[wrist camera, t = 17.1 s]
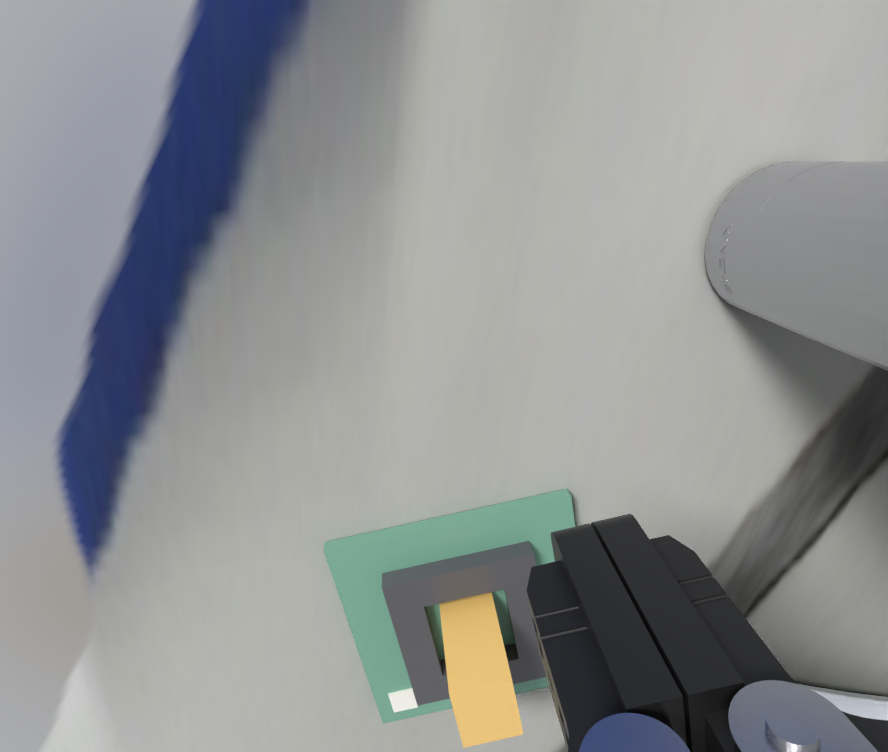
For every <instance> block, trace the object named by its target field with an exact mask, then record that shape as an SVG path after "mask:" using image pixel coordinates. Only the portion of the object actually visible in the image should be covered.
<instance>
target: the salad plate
mask: <svg viewBox="0 0 888 752" xmlns="http://www.w3.org/2000/svg"><path fill="white" fill-rule="evenodd" d="M798 685H800V686H803V687H806V688H808V689H810V690H812V691H814V692H816V693H818V694H820V695H821V696H823V697H825V698H826V699H827V700H829V701H830V702H831V703H833V704H834V705H835V706H836V707H837V708H838V709H839V710H840V711H843V712H846V713H848V714H852V715H856V716H860V717H864V718H871V719H878V720H888V697H884V696H875V695H866V694H859V693H851V692H845V691H838V690H832V689H825V688H819V687H813V686H807V685H802V684H798Z"/></svg>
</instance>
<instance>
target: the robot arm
mask: <svg viewBox="0 0 888 752" xmlns="http://www.w3.org/2000/svg"><path fill="white" fill-rule="evenodd" d="M705 261H706V269H707V273H708V276H709V278H710V281H711V284H712V285H713V287H714V288H715V290H716V291H717V293H718V294H719V295H720V296H721V297H722V298H723V299H724V300H725V301H726V302H728V303H729V304H731V305H733V306H735V307H737V308H739V309H741V310H743V311H746V312H748V313H750V314H753V315H755V316H758V317H760V318H762V319H765V320H767V321H770V322H772V323H774V324H776V325H778V326H781V327H783V328H786V329H788V330H790V331H793V332H795V333H798V334H800V335H802V336H805V337H807V338H810V339H812V340H814V341H817V342H819V343H822V344H824V345H826V346H829V347H831V348H834V349H836V350H838V351H841V352H843V353H846V354H848V355H850V356H853V357H855V358H858V359H860V360H862V361H865V362H867V363H870V364H872V365H874V366H877V367H879V368H882V369H884V370H886V371H888V162H786V163H781V164H776V165H771V166H769V167H766V168H764V169H762V170H759V171H757V172H755V173H754V174H752V175H751V176H749V177H748V178H746V179H745V180H743V181H742V182H741V183H740V184H739V185H738V186H737V187H736V188H735V189H734V190H733V191H732V192H731V193H730V194H729V195H728V196H727V197H726V199H725V200H724V201H723V203H722V204H721V206H720V207H719V208H718V210H717V212H716V214H715V216H714V219H713V221H712V223H711V225H710V229H709V232H708V236H707V239H706V249H705ZM551 542H552V548H553V553H554V559H555V562H551V563H547V564H542V565H538V566H534V567H531V572H530V577H529V581H528V586H527V595H528V600H529V605H530V610H531V614H532V619H533V624H534V629H535V633H536V638H537V643H538V648H539V653H540V656H541V659H542V663H543V666H544V670H545V673H546V677H547V680H548V684H549V687H550V691H551V694H552V698H553V701H554V704H555V708H556V711H557V715H558V718H559V722H560V725H561V729H562V732H563V736H564V739H565V743H566V746H567V750H568V752H888V720H878V719H871V718H864V717H860V716H856V715H852V714H848V713H846V712H843V711H840V710H839V709H838V708H837V707H836V706H835V705H834V704H833V703H831V702H830V701H829V700H827V699H826V698H825V697H823V696H821V695H820V694H818V693H816V692H814V691H812V690H810V689H808V688H806V687H803V686H800V685H798V684H797V683H796V682H795V681H794V680H793V679H792V678H791V677H790V676H789V675H788V674H787V672H786V671H785V670H784V668H783V667H782V666H781V665H780V663H779V662H778V661H777V659H776V658H775V657H774V655H773V654H772V653H771V651H770V650H769V649H768V648H767V646H766V645H765V644H764V642H763V641H762V640H761V638H760V637H759V636H758V634H757V633H756V632H755V630H754V629H753V628H752V627H751V625H750V624H749V623H748V621H747V620H746V619H745V617H744V616H743V615H742V613H741V612H740V611H739V610H738V608H737V607H736V606H735V604H734V603H733V602H732V600H731V599H730V598H727V596H726V592H725V591H724V590H723V589H722V587H721V586H720V585H719V583H718V582H717V581H716V579H715V578H714V579H713V578H712V575H711V573H710V572H709V570H708V569H707V568H706V566H705V565H704V564H703V562H702V561H701V560H700V558H699V557H698V556H697V554H696V553H695V552H694V551H693V550H691V549H689V548H688V547H686V546H685V545H683V544H682V543H680V542H678V541H677V540H675V539H674V538H672V537H671V536H669V535H667V536H663V537H659V538H654V539H650V540H649V538H648V537H647V535H646V534H645V532H644V531H643V529H642V528H641V526H640V525H639V523H638V522H637V520H636V519H635V518H634V516H633V515H631V514H627V515H623V516H618V517H614V518H610V519H605V520H601V521H597V522H592V523H591V525H590V524H584V525H580V526H576V527H571V528H567V529H563V530H558V531H554V532H551Z"/></svg>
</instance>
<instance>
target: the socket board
mask: <svg viewBox="0 0 888 752" xmlns="http://www.w3.org/2000/svg"><path fill="white" fill-rule="evenodd" d="M571 527H575V521H574V513H573V505H572V498H571V495H570V493H569V491H568V489H564V490H559V491H555V492H550V493H545V494H541V495H536V496H532V497H527V498H523V499H518V500H514V501H509V502H505V503H500V504H495V505H491V506H486V507H482V508H477V509H473V510H468V511H464V512H459V513H455V514H450V515H446V516H441V517H436V518H432V519H427V520H423V521H418V522H414V523H409V524H405V525H400V526H396V527H391V528H386V529H382V530H377V531H373V532H368V533H364V534H359V535H355V536H350V537H346V538H341V539H336V540H332V541H327V542H325V547H324V553H325V556H326V559H327V562H328V565H329V567H330V570H331V573H332V576H333V579H334V582H335V585H336V588H337V591H338V594H339V597H340V599H341V602H342V605H343V608H344V611H345V614H346V617H347V620H348V623H349V626H350V629H351V631H352V634H353V637H354V640H355V643H356V646H357V649H358V652H359V655H360V658H361V661H362V663H363V666H364V669H365V672H366V675H367V678H368V681H369V684H370V687H371V690H372V693H373V695H374V698H375V701H376V704H377V707H378V710H379V713H380V716H381V719H382V722H383V724H384V723H388V722H393V721H397V720H401V719H406V718H410V717H415V716H419V715H424V714H428V713H433V712H437V711H442V710H446V709H451V708H453V707H452V703H451V699H450V696H449V689H448V680H447V671H446V661H445V652H444V643H443V634H442V625H441V615H440V606H439V604H440V603H444V602H449V601H453V600H458V599H462V598H467V597H471V596H476V595H480V594H485V593H489V592H492V596H493V600H494V605H495V609H496V613H497V617H498V622H499V626H500V630H501V635H502V639H503V643H504V647H505V652H506V656H507V660H508V665H509V669H510V673H511V677H512V682H513V687H514V691H515V694H517V693H522V692H526V691H531V690H535V689H540V688H544V687H549V684H548V680H547V677H546V673H545V670H544V666H543V663H542V659H541V656H540V653H539V648H538V643H537V638H536V633H535V629H534V624H533V619H532V614H531V610H530V605H529V600H528V595H527V586H528V581H529V577H530V572H531V567H534V566H538V565H542V564H547V563H551V562H555V559H554V553H553V548H552V542H551V532H554V531H558V530H563V529H567V528H571Z"/></svg>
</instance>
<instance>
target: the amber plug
mask: <svg viewBox="0 0 888 752" xmlns="http://www.w3.org/2000/svg"><path fill="white" fill-rule="evenodd" d="M439 606H440V615H441V625H442V634H443V643H444V652H445V661H446V671H447V680H448V689H449V696H450V699H451V703H452V707H453V710H454V714H455V718H456V721H457V725H458V729H459V732H460V736H461V740H462V743H463V747H464V748H465V747H469V746H474V745H478V744H483V743H487V742H491V741H496V740H500V739H505V738H509V737H513V736H518V735H522V734H523V729H522V724H521V720H520V715H519V710H518V705H517V701H516V696H515V691H514V687H513V682H512V677H511V673H510V669H509V665H508V660H507V656H506V652H505V647H504V643H503V639H502V635H501V630H500V626H499V622H498V617H497V613H496V609H495V605H494V600H493V596H492V592H489V593H485V594H480V595H476V596H471V597H467V598H462V599H458V600H453V601H449V602H444V603H440V604H439Z"/></svg>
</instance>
